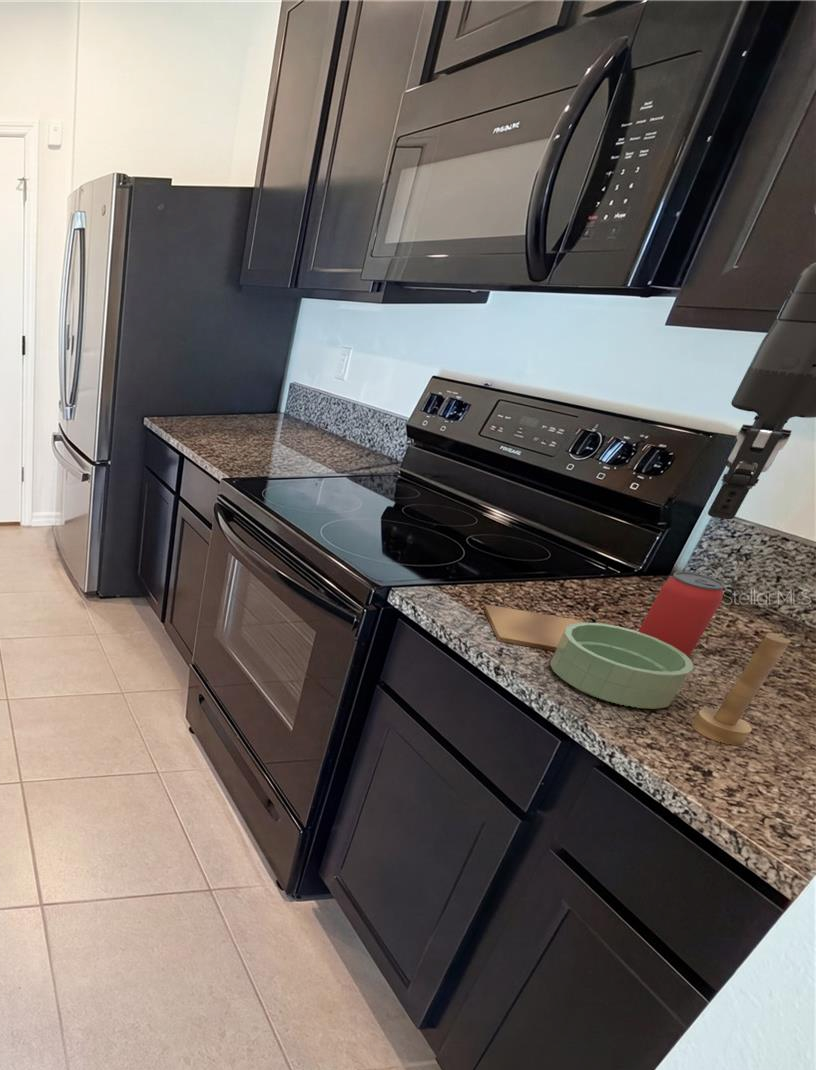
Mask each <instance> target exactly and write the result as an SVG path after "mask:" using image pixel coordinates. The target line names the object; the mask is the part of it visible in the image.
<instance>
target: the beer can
mask: <svg viewBox="0 0 816 1070" xmlns="http://www.w3.org/2000/svg"><path fill="white" fill-rule="evenodd" d="M725 586H726V585H725V584H724V583H723V582H722V581H720V580H719V579H717V578H714V577H712V576H708V575H705V574H701V573H697V572H691V571H676V572H673V574H672V576H671V577H669V578H668V579H667V580H666V581H665V582H664V583H662V586H661V588H660V589H659V592H658V593H657V594H656V597H655V599H654V600H653V602H652V604H651V606H650V607H649V610H648V611H647V613H646V615H645V617H644V620H643V621H642V624H641V625H640V627H639V629H638V632H641V633H643V634H646V635H649V636H652V637H655V638H657V639H659V640H661V641H663V642H665V643H667V644H670V645H672V646H673V647H675V648H677V649H678V650H680V651H681V652H683V653H684V654H686V656H687V657H689V656H691V655H692V653H693V652H694V649H696V646H697V645H698V644H699V641H700V639H701V638H702V636H703V634H704V633H705V631H706V629H707V627H708V626H709V624H710V622H711V620H712V619H713V617H714V616H715V614H716V612H717V610H718V609H719V607H720V605H721V604H722V601H723V597H724V589H725Z"/></svg>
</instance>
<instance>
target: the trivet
mask: <svg viewBox="0 0 816 1070" xmlns="http://www.w3.org/2000/svg"><path fill="white" fill-rule="evenodd" d="M482 609H483V611H484V613H485V616H486V618H487V620H488V623H489V624H490V627H491V630H492V632H493V634H494V636H495V637H496V639H497V641H498V642H501V643H508V644H513V645H518V646H522V647H523V646H524V647H528V648H534V649H538V650H539V649H540V650H545V651H551V652H554V651H555V649H556V647H557V645H558V643H559V641H560V639H561V636H562V634H563V632H564V630H565V628H566V627H567V626H569V625H571V624H575V623H583V622H585V621H584V620H580V619H574V618H568V617H562V616H557V615H550V614H545V613H540V612H533V611H527V610H522V609H517V608H510V607H503V606H497V605H492V604H487V603H484V604H483V606H482Z"/></svg>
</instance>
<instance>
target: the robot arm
mask: <svg viewBox="0 0 816 1070" xmlns="http://www.w3.org/2000/svg"><path fill="white" fill-rule="evenodd" d="M814 213H815V214H816V199H815V200H814ZM730 404H731V406H732V408H735V409H737V410H740V411H745V412H752V413H755V416H754V418H753V420H754V421H753V423H752V424H746V423H745V424H744V423H743V424H742V426H741V427H740V430H739V431H738V432H737V434H736V436H735V439H734V441H733V443H734V446H733V448H732V450H731V452H730V454H729V456H728V458H727V460H726V462H725V466H726V467H727V468H728V470H727V472H726V473H724V474H723V475H722V478H721V480H720V482H721V481H722V482H721V487H720V488H719V490H718V492H717V494H716V496H715V497H714V500H713V502H712V504H711V505H710V507H709V509H708V511H707V515H708V516H709V517H711V518H717V519H723V520H728V521H729V520H732V519H734V518H735V517H736V515H737V513H738V512H739V510H740V508H741V507H742V504H743V503H744V501H745V498H746V497H747V495H748V493H749V491H750V490H752V489H753V488H754V487H755V486H757V484H758V483H759V481H760V478H759V477H760V475H761V473H766V472H767V471H769V469H770V468H771V466H772V465H773V462H774V461H775V459H776V457H777V455H778V453H779V451H781V450H783V449H784V447H785V446H786V445H787V443H788V441H789V439H790V437H791V435H792V432H793V430H792V429H786V428H784V427H785V425H786V424H788V421H789V420H790V419H791V418H804V419H812V418H816V261H814V262H811V264H808V265H807V266H806V267H805V268H804V269H803V270H801V272H800V274H799V275H798V277H797V279H796V280H795V282H794V284H793V285H792V287H791V289H790V291H789V293H788V295H787V297H786V299H785V301H784V303H783V305H782V307H781V309H780V311H779V312H778V314H777V316H776V320H775V321H774V323H773V324H772V326H771V328H770V329H769V330H768V332H767V333H766V335H764V337H763V339H762V340H761V342H760V344H759V346H758V348H757V350H756V352H755V354H754V355H753V357H752V360H751V362H750V363H749V366H748V368H747V370H746V372H745V374H744V376H743V378H742V379H741V382H740V384H739V386H738V387H737V389H736V391H735V394H734V395H733V398H732V399H731V403H730Z"/></svg>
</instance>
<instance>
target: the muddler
mask: <svg viewBox="0 0 816 1070" xmlns="http://www.w3.org/2000/svg"><path fill="white" fill-rule="evenodd" d="M790 643H791V641H790V640H789V639H787V638H785V637H783V636H780V635H777V634H771V633H770V634H765V636H764V637H763V639H762V640H761V642H760V643H759V645H758V646H757V648H756V649H755V652H754V653H753V654H752V656H751V658H750V659H749V661H748V662H747V664H746V666H745V667H744V669H743V670H742V672H741V673H740V674H739V676H738V678H737V679H736V681H735V682H734V684H733V686H732V687H731V689H730V691H729V692H728V694H727V695H726V697H725V699H724V700H723V701H722V703H721V705H720V706H719V707H718V709H713V708H702V709H700V710H699V711H698V712H697V714H696V715H695V716H694V718H693V719H692V722H691V727H692V729H693V730H694V731H695V732H697V733H698V734H700V735H701V736H703V737H705V738H707V739H709V740H711V741H714V740H715V741H714V742H717V741H718V743H720V742H721V743H720V744H724V743H725V744H724V745H729V744H731V745H730V746H740V745H742V744H744V742H745V741H746V739H747V738H748V736H749V735H750V733H751V732H752V726H751V725H750V723H748V722H746V721H745V720H743V719H742V718H741V717H742V716H743V714H744V713H745V711H746V710H747V708H748V707H749V706H750V705H751V702H752V701H753V700H754V697H755V696H756V695H757V693H758V692H759V690H760V689H761V687H762V685H763V684H764V683H765V681H766V680H767V678H768V677H769V675H770V674H771V672H772V671H773V669H774V668H775V666H776V664H777V663H778V661H780V659H781V657H782V656H783V655H784V652H785V651H786V650H787V648H788V646H790Z"/></svg>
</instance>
